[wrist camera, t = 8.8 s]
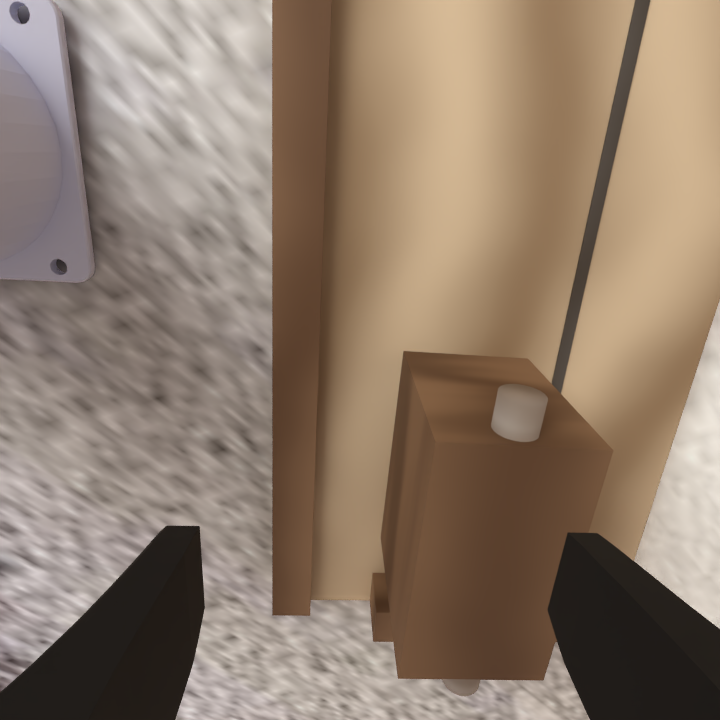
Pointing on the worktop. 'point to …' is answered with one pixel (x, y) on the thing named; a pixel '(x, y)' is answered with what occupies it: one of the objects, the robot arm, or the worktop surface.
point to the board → (481, 241)
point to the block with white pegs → (481, 515)
